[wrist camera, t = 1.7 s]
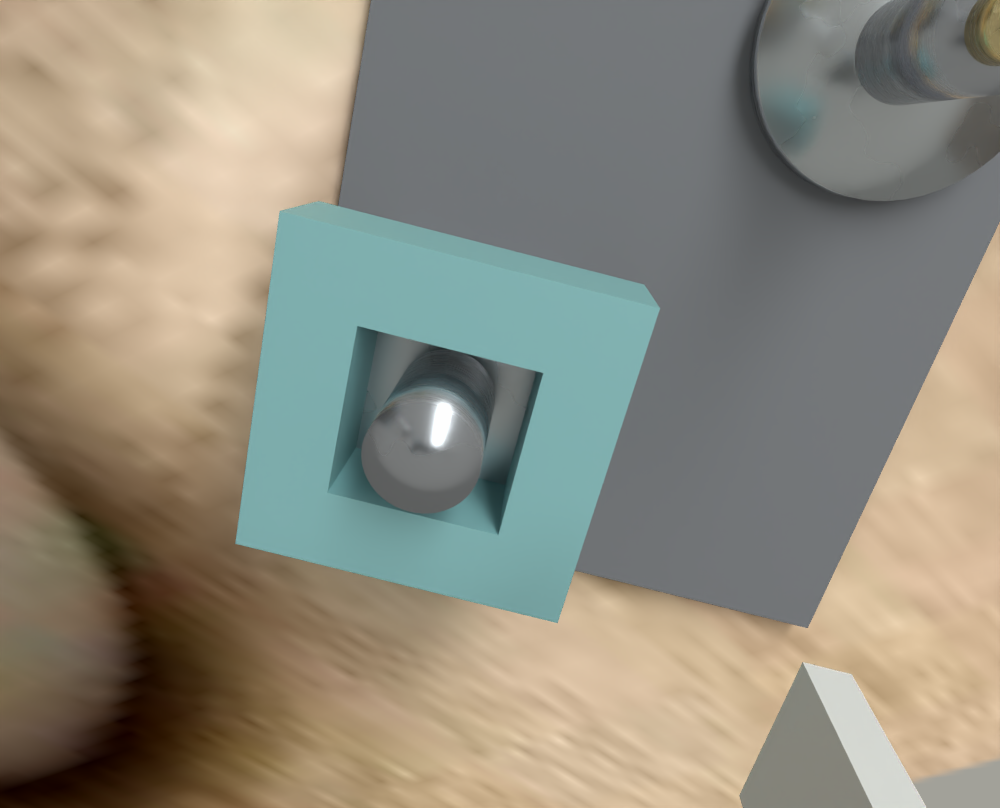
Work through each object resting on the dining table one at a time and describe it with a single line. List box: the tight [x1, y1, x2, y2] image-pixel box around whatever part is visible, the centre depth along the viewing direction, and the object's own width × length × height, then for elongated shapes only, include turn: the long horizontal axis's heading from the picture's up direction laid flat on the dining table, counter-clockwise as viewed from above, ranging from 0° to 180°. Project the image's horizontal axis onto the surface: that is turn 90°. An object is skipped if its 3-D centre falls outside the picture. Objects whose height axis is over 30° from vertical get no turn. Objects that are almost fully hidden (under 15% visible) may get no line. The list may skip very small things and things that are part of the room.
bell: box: [749, 0, 1000, 201], centre depth 18 cm, size 8×8×6 cm
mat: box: [338, 0, 1000, 628], centre depth 23 cm, size 20×26×1 cm
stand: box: [356, 331, 536, 514], centre depth 21 cm, size 6×6×8 cm
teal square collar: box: [236, 201, 660, 623], centre depth 20 cm, size 9×9×3 cm
